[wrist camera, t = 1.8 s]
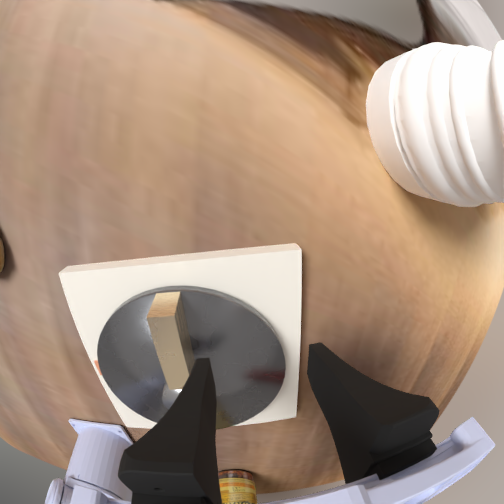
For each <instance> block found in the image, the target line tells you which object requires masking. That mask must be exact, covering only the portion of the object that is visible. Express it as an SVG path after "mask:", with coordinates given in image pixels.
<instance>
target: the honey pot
mask: <svg viewBox="0 0 504 504" xmlns="http://www.w3.org/2000/svg"><path fill="white" fill-rule="evenodd" d="M366 113H367V126H368V129H369V133H370V136H371V140H372V144H373V147H374V149H375V151H376V153H377V155H378V157H379V159H380V161H381V163H382V165H383V167H384V168H385V169H386V171H387V172H388V173H389V175H390V176H391V177H392V179H393V180H394V181H395V182H396V183H398V184H399V185H400V186H401V187H403V188H404V189H405V190H406V191H408V192H411V193H413V194H416V195H418V196H421V197H424V198H428V199H432V200H436V201H440V202H443V203H448V204H454V205H456V206H458V207H477V206H479V205H481V204H483V203H485V204H492V203H494V202H502V203H504V40H501V41H498V42H497V43H496V45H495V47H494V49H493V51H492V52H490V51H487V50H486V49H484V48H480V47H477V46H468V47H466V46H461V45H451V44H446V43H440V42H436V43H430V44H427V45H423V46H420V47H419V48H416V49H413V50H412V51H409V52H406V53H404V54H402V55H400V56H397V57H395V58H393V59H391V60H389V61H387V62H385V63H384V64H383V65H382V66H381V67H380V68H379V69H378V70H377V71H376V72H375V74H374V76H373V78H372V80H371V82H370V84H369V87H368V94H367V100H366Z"/></svg>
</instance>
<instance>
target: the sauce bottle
mask: <svg viewBox="0 0 504 504" xmlns="http://www.w3.org/2000/svg"><path fill="white" fill-rule="evenodd" d="M218 477H219V485H220V492H221V499H222V504H257V497H256V488H255V483H254V479H253V476H252V474H250V473H249V472H246V471H241V470H228V471H220V472H218Z"/></svg>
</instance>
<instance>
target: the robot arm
mask: <svg viewBox="0 0 504 504" xmlns="http://www.w3.org/2000/svg"><path fill="white" fill-rule="evenodd" d="M307 374H308V378H309V381H310V384H311V387H312V390H313V392H314V395H315V397H316V399H317V401H318V403H319V405H320V407H321V409H322V411H323V414H324V416H325V418H326V420H327V422H328V424H329V427H330V430H331V433H332V436H333V439H334V442H335V445H336V448H337V452H338V455H339V459H340V462H341V466H342V470H343V474H344V478H345V483H346V484H345V485H342V486H339V487H336V488H332V489H329V490H325V491H321V492H317V493H313V494H309V495H305V496H301V497H295V498H290V499H285V500H279V501H273V502H266V503H259V504H423V503H424V502H426V501H428V500H429V499H431V498H432V497H434V496H436V495H437V494H439V493H440V492H442V491H443V490H445V489H446V488H448V487H449V486H451V485H452V484H454V483H455V482H456V481H458V480H459V479H461V478H462V477H463V476H465V475H466V474H467V473H469V472H470V471H471V470H473V469H474V468H475V467H476V466H477V465H478V463H480V462H481V460H482V459H484V457H485V456H486V455H487V454H488V453H489V452H490V451H491V450H492V449H493V448H494V447H495V444H494V442H493V441H492V440H491V439H490V437H489V436H488V435H487V433H486V432H485V431H484V430H483V429H482V427H481V426H480V425H479V424H478V422H477V421H476V420H475V419H474V417H471V418H469V419H468V420H466V421H465V422H464V423H462V424H460V425H459V426H458V427H457V428H455V430H454V431H453V432H452V433H451V435H450V437H448V438H447V439H445V440H443V441H442V442H440V443H438V444H437V445H435V444H434V443H433V441H432V440H431V438H432V433H431V432H430V431H429V430H430V429H431V427H432V426H433V424H434V423H435V421H436V419H437V417H438V415H439V410H438V408H437V407H436V405H435V404H434V403H433V402H432V400H431V399H430V398H429V397H424V396H419V395H413V394H409V393H406V392H402V391H399V390H396V389H393V388H390V387H388V386H385V385H383V384H381V383H378V382H376V381H374V380H373V379H371V378H369V377H367V376H365V375H363V374H362V373H360V372H359V371H357V370H355V369H354V368H353V367H351V366H350V365H348V364H347V363H346V362H344V361H343V360H342V359H340V358H339V357H338V356H337V355H335V354H334V353H333V352H332V351H331V350H329V349H328V348H327V347H326V346H325V345H323V344H322V343H315V344H310V345H309V357H308V370H307ZM216 409H217V400H216V387H215V382H214V377H213V372H212V368H211V363H210V358H198V359H196V360H195V363H194V365H193V368H192V370H191V373H190V375H189V377H188V379H187V381H186V383H185V385H184V386H183V388H182V390H181V392H180V393H179V395H178V397H177V398H176V400H175V401H174V403H173V404H172V406H171V407H170V408H169V410H168V411H167V412H166V413H165V415H164V416H163V417H162V418H161V419H160V420H159V421H158V423H157V424H156V425H155V426H154V427H153V428H152V429H151V430H149V431H148V432H147V433H146V434H145V435H144V436H143V437H142V438H140V439H139V440H138V441H136V442H135V443H133V442H132V440H131V439H130V437H129V436H128V434H127V433H126V431H125V430H124V428H123V427H122V426H120V425H113V424H104V423H96V422H89V421H82V420H76V419H69V423H70V424H71V425H72V427H73V428H74V429H75V431H76V432H77V433H78V434H79V435H78V438H77V441H76V444H75V447H74V450H73V453H72V456H71V460H70V463H69V466H68V469H67V473H66V476H65V479H64V480H62V479H60V478H58V479H54V480H53V481H52V483H51V485H50V487H49V490H48V493H47V497H46V500H45V504H222V499H221V492H220V485H219V477H218V468H217V458H216V446H215V434H216Z"/></svg>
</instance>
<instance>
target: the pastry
mask: <svg viewBox="0 0 504 504" xmlns="http://www.w3.org/2000/svg"><path fill="white" fill-rule="evenodd" d="M3 266H4V246H3V242H2V240H1V238H0V273H1V272H2V269H3Z"/></svg>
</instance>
